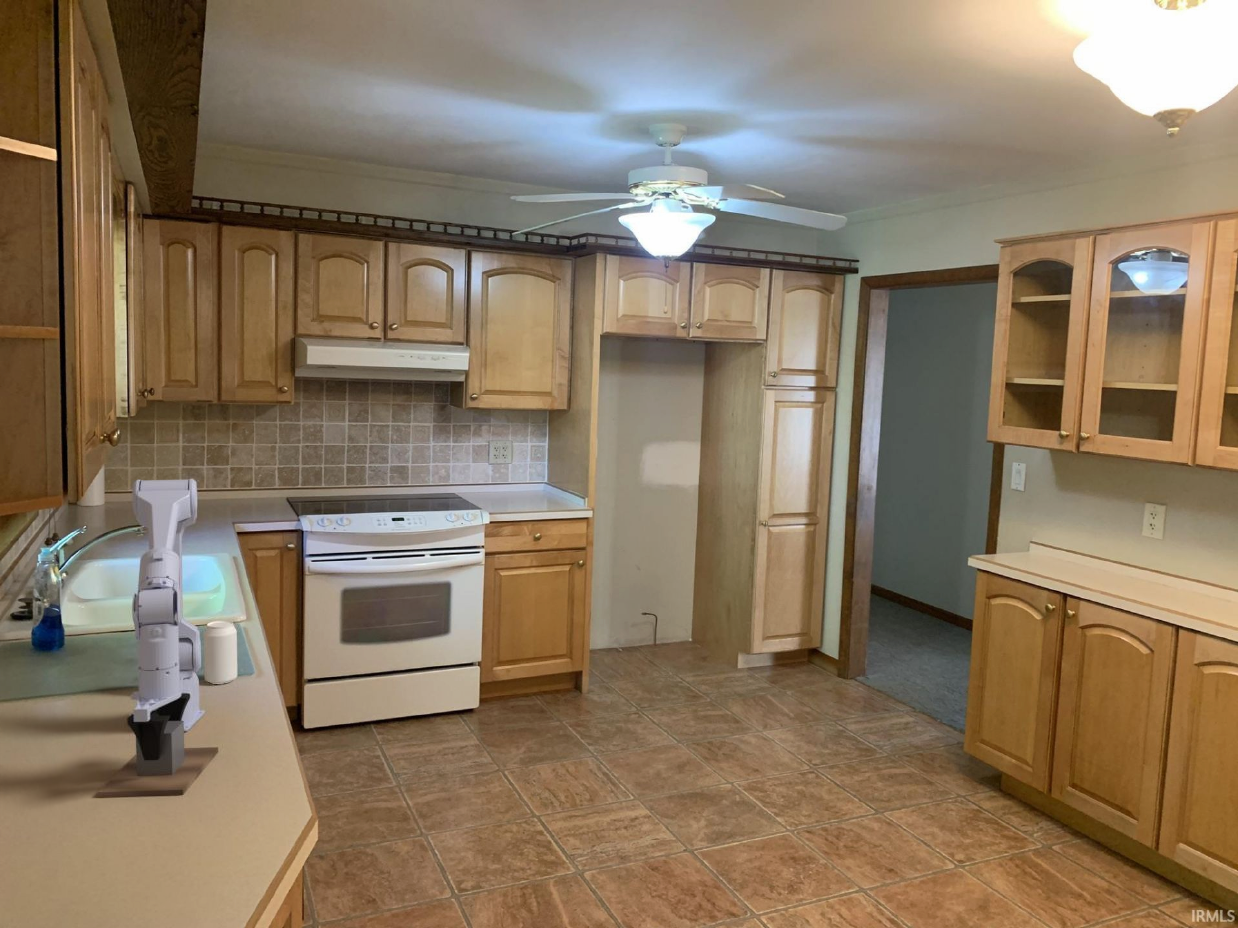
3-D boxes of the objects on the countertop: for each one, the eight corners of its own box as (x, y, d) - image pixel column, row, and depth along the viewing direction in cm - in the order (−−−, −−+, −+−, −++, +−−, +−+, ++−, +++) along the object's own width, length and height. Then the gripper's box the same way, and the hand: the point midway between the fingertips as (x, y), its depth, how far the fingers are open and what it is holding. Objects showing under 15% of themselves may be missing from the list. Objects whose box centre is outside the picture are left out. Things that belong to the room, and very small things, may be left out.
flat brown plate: (142, 753, 151) (141, 719, 150) (218, 751, 152) (217, 717, 152) (97, 797, 135) (96, 758, 134) (183, 794, 136) (182, 756, 136)
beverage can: (215, 675, 191) (214, 618, 190) (243, 677, 190) (242, 620, 189) (198, 685, 185) (196, 626, 184) (226, 686, 184) (225, 628, 183)
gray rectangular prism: (150, 761, 146) (149, 721, 145) (184, 760, 146) (183, 720, 146) (136, 775, 141) (135, 733, 140) (172, 774, 141) (171, 733, 141)
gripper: (150, 651, 149) (152, 733, 150) (110, 680, 134) (113, 770, 136) (195, 651, 150) (197, 732, 151) (161, 679, 135) (163, 768, 136)
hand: (161, 750), depth 143 cm, fingers open, 6 cm apart
